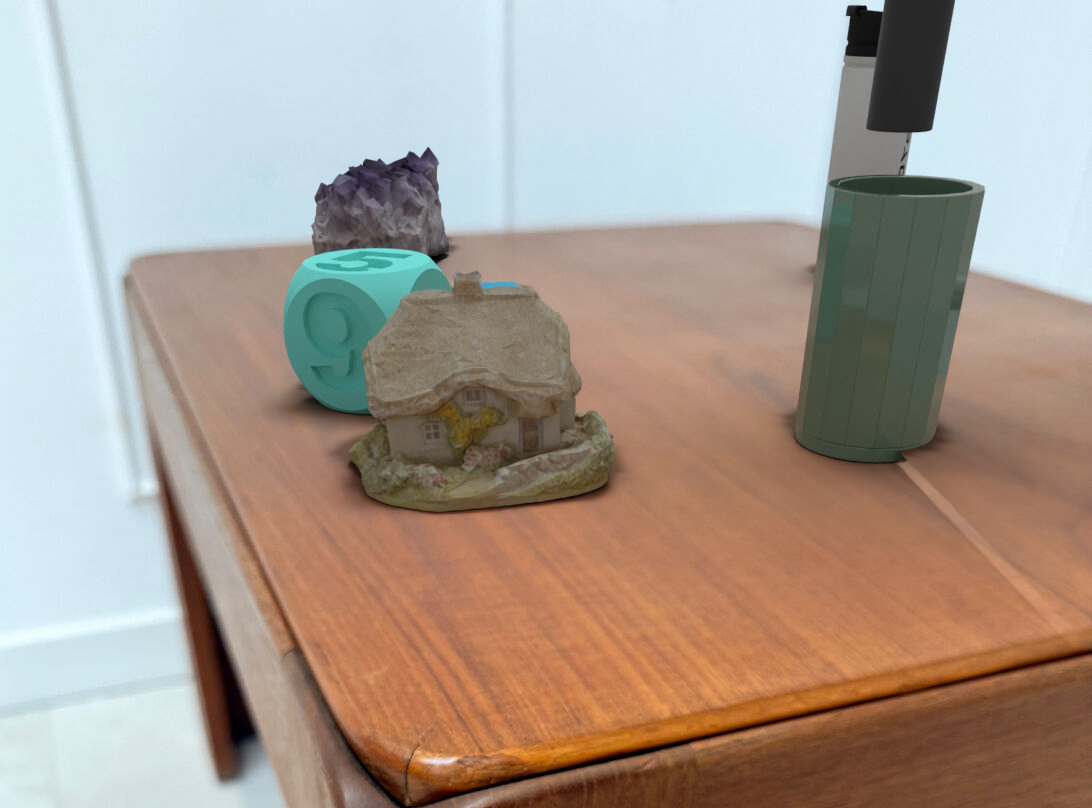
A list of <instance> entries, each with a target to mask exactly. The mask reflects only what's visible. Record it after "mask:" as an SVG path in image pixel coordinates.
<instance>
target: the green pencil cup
mask: <svg viewBox="0 0 1092 808" xmlns="http://www.w3.org/2000/svg"><path fill="white" fill-rule="evenodd" d="M985 194H986V186H984V185H982V184H980V183H977V182H974V181H971V180H966V179H960V178H953V177H946V176H945V177H943V176H933V175H922V174H921V175H919V174H918V175H917V174H916V175H915V174H905V175H863V176H852V177H843V178H839V179H835V180H831V181H829V183H828V184H827V183H826V186H825V192H824V199H823V200H824V201H823V208H822V216H821V224H820V231H819V240H818V247H817V254H816V262H815V270H814V276H813V286H812V293H811V299H810V300H811V301H810V306H809V307H810V308H809V315H808V323H807V331H806V338H805V346H804V353H803V361H802V369H801V377H800V384H799V392H798V400H797V407H796V415H795V416H796V417H795V421H794V422H795V429H794V437H795V439H796V441H797V443H798V444H799V445H801V446H802V447H803V448H806V449H807V450H810V451H811V452H813V453H816V454H819V455H822V456H825V457H829V458H833V459H838V460H843V461H850V462H857V463H876V464H877V463H895V462H902V461H907V458H906V457H905V456H904V455H903V454H902V453H901V452H900V451H907V450H913V449H916V448H917V449H918V448H920V447H923V446H925V445H927V444H929V443H931V442H932V441H933V439H934V437H935V435H936V431H937V426H938V421H939V416H940V411H941V407H942V402H943V397H944V393H945V388H946V383H947V378H948V373H949V368H950V363H951V359H952V354H953V349H954V344H955V340H956V334H957V329H958V324H959V320H960V315H961V309H962V304H963V301H964V295H965V290H966V286H967V281H968V275H969V271H970V267H971V262H972V257H973V252H974V247H975V242H976V237H977V232H978V227H979V222H980V218H981V213H982V208H983V203H984V197H985Z"/></svg>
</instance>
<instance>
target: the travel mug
mask: <svg viewBox="0 0 1092 808" xmlns="http://www.w3.org/2000/svg"><path fill="white" fill-rule="evenodd" d="M882 15H883V11H882V10H881V11H880V10H871V9H868V6H867V5H865V4H861V5H860V4H855V5H854V4H849V5H847V7H846V11H845V16H846V17H849V22H848V29H847V35H846V41H847V44H846V45H845V51H844V55H843V60H842V61H843V63H844V65H843V66H842V67H841V73H840V74H841V75H840V81H839V82H840V83H839V88H838V89H839V90H838V97H837V105H836V113H835V121H834V127H833V135H832V144H831V150H830V151H831V152H830V158H829V165H828V172H827V180H826V181H827V182H826V185H827V184H828V183H829V181H831V180H835V179H839V178H843V177H852V176H863V175H906V172H907V168H908V167H907V165H908V161H909V155H910V147H911V142H912V136H913V133H892V132H878V131H871V130H868V129H866V123H867V117H868V110H869V103H870V96H871V89H872V83H873V76H874V69H875V62H876V56H877V49H878V42H879V35H880V28H881V22H882Z"/></svg>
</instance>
